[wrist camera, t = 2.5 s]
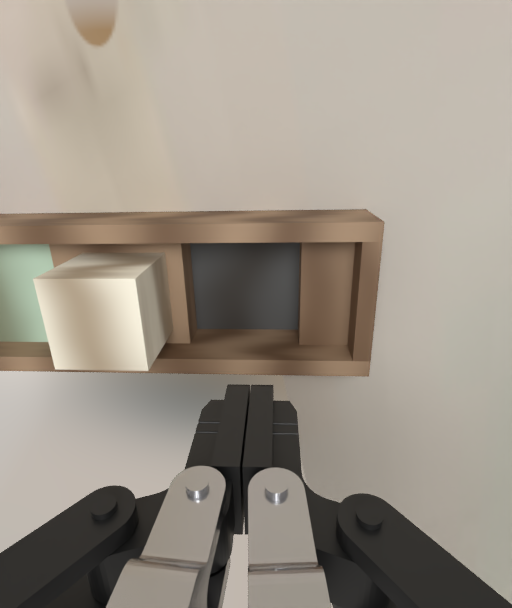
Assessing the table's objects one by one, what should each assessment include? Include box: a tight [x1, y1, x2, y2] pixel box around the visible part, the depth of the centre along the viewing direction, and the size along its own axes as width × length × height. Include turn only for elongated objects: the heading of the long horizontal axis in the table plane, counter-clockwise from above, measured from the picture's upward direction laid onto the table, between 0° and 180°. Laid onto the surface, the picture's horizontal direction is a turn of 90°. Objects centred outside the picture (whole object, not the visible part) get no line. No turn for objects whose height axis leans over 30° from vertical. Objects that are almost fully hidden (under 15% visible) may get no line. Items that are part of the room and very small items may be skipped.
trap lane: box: [0, 209, 384, 376], centre depth 24 cm, size 36×9×4 cm, turn 91°
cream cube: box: [33, 253, 173, 371], centre depth 21 cm, size 5×5×5 cm
